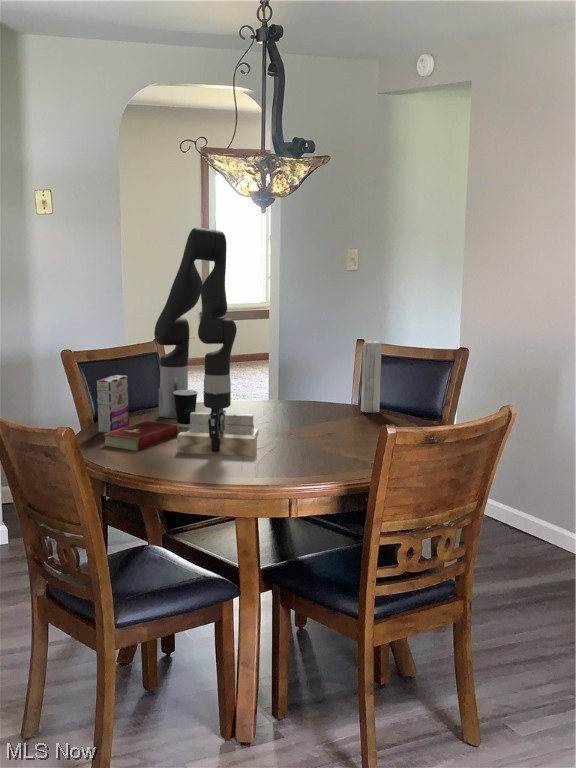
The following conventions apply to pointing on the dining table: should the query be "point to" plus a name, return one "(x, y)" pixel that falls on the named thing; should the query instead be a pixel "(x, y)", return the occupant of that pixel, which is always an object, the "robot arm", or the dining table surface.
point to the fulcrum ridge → (233, 424)
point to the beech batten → (228, 444)
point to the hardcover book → (141, 435)
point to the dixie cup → (184, 406)
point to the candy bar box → (112, 403)
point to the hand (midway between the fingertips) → (217, 449)
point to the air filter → (371, 376)
